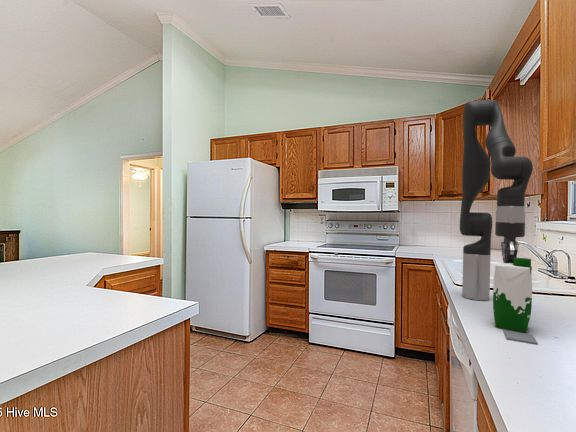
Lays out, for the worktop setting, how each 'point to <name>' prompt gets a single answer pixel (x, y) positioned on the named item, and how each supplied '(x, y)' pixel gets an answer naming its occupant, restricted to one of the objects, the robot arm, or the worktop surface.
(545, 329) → the worktop surface
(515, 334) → the rubber pad
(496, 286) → the soya milk
